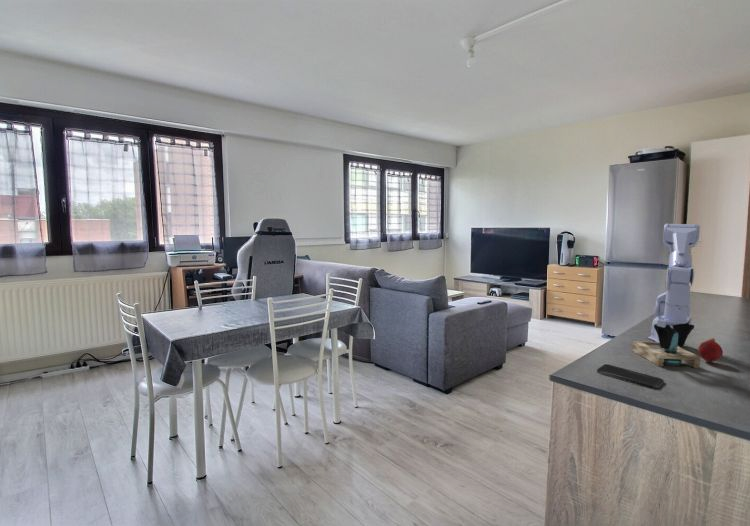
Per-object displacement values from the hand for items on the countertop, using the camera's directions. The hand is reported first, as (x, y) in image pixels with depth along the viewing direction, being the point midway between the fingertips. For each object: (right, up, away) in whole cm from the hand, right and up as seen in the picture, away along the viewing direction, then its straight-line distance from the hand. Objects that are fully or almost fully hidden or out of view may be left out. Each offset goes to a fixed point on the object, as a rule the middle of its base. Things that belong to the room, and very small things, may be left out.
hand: (671, 347), depth 123 cm
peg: (0, -5, +1) cm, 5 cm away
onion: (+13, -5, +2) cm, 14 cm away
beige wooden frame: (0, -5, +4) cm, 6 cm away
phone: (-21, -7, -12) cm, 25 cm away
